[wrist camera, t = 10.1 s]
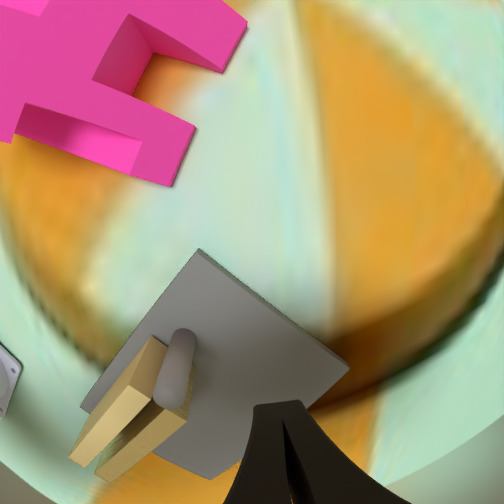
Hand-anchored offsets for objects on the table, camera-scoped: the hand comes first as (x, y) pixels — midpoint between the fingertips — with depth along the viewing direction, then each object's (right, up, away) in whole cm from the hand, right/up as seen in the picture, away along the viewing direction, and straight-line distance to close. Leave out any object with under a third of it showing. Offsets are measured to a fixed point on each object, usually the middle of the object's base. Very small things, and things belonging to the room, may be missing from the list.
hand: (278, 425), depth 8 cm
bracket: (-9, +16, +6) cm, 19 cm away
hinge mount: (-4, -4, +11) cm, 12 cm away
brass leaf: (-8, -5, +10) cm, 13 cm away
